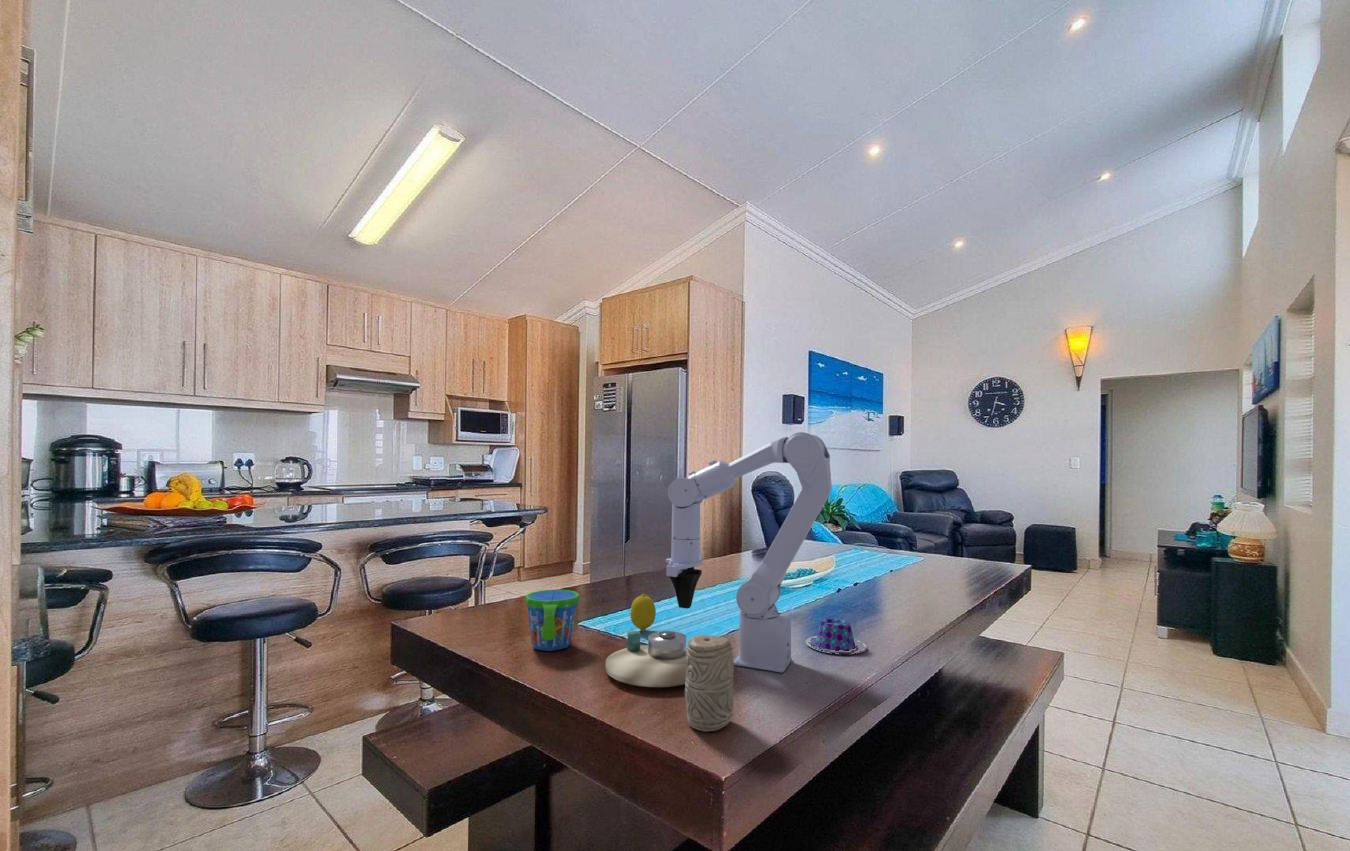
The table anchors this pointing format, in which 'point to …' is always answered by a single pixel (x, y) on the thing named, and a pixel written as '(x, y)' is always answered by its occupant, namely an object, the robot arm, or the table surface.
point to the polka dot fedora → (835, 636)
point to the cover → (667, 645)
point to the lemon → (643, 612)
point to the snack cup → (551, 618)
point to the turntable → (644, 666)
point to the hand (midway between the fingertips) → (684, 607)
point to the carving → (709, 682)
